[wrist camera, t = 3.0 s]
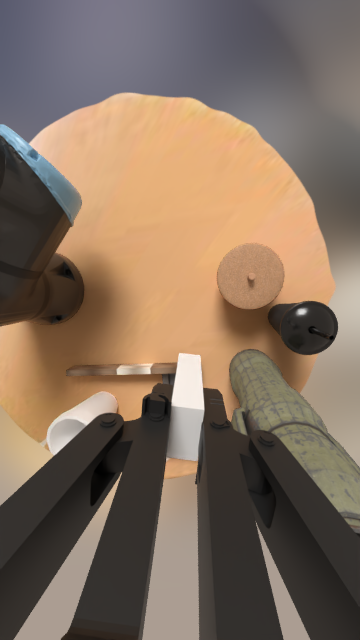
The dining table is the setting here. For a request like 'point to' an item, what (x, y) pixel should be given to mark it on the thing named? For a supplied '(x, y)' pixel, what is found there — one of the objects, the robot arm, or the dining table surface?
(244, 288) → the lidded jar
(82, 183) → the dining table surface
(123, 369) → the lane
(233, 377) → the thermos
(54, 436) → the foam cup
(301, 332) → the drinking cup
